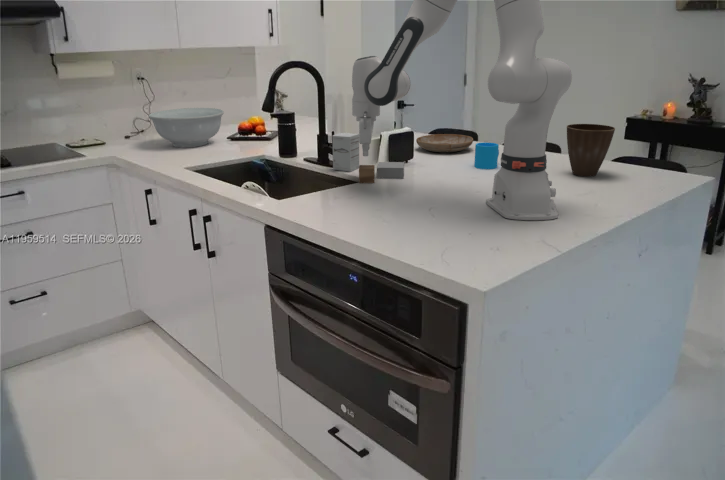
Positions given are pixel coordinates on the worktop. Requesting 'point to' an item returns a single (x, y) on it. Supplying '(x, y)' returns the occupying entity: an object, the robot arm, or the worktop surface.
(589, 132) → the plant pot
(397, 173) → the grey base
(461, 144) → the shallow wooden dish
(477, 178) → the worktop surface
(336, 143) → the supplement box
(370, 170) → the walnut cube
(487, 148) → the mug
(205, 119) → the bowl
